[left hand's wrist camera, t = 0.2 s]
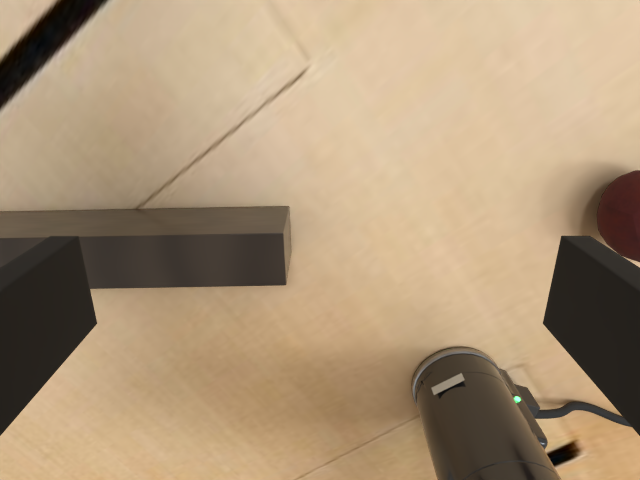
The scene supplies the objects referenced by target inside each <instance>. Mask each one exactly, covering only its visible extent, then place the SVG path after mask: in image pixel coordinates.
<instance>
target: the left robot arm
mask: <svg viewBox="0 0 640 480" xmlns="http://www.w3.org/2000/svg"><path fill="white" fill-rule="evenodd" d="M96 324H97V321H96V316H95V311H94V307H93V302H92V297H91V292H90V288H89V283H88V278H87V273H86V269H85V264H84V259H83V255H82V250H81V245H80V240H79V236H50V237H48V238H46V239H45V240H43V241H42V242H40V243H38V244H37V245H35V246H34V247H32V248H31V249H29V250H27V251H26V252H24V253H23V254H21V255H20V256H18V257H16V258H15V259H13V260H12V261H10V262H9V263H7V264H5V265H4V266H2V267H1V268H0V435H1V434H2V433H3V432H4V431H5V430H6V429H7V427H8V426H9V425H10V424H11V423H12V422H13V420H14V419H15V418H16V417H17V416H18V415H19V413H20V412H21V411H22V410H23V409H24V408H25V406H26V405H27V404H28V403H29V402H30V401H31V400H32V398H33V397H34V396H35V395H36V394H37V393H38V391H39V390H40V389H41V388H42V387H43V386H44V384H45V383H46V382H47V381H48V380H49V379H50V377H51V376H52V375H53V374H54V373H55V372H56V371H57V369H58V368H59V367H60V366H61V365H62V364H63V362H64V361H65V360H66V359H67V358H68V357H69V355H70V354H71V353H72V352H73V351H74V350H75V348H76V347H77V346H78V345H79V344H80V343H81V342H82V340H83V339H84V338H85V337H86V336H87V335H88V333H89V332H90V331H91V330H92V329H93V328H94V326H95V325H96ZM543 324H544V325H545V326H546V328H547V329H548V330H549V331H550V332H551V333H552V335H553V336H554V337H555V338H556V339H557V340H558V342H559V343H560V344H561V345H562V346H563V347H564V348H565V350H566V351H567V352H568V353H569V354H570V355H571V357H572V358H573V359H574V360H575V361H576V362H577V364H578V365H579V366H580V367H581V368H582V369H583V371H584V372H585V373H586V374H587V375H588V376H589V377H590V379H591V380H592V381H593V382H594V383H595V384H596V386H597V387H598V388H599V389H600V390H601V391H602V393H603V394H604V395H605V396H606V397H607V398H608V400H609V401H610V402H611V403H612V404H613V405H614V406H615V408H616V409H617V410H618V411H619V412H620V413H621V415H622V416H623V417H624V418H625V419H626V420H627V422H628V423H629V424H630V425H631V426H632V427H633V429H634V430H635V431H636V432H637V433H638V434H639V435H640V268H639V267H638V266H636V265H635V264H633V263H631V262H630V261H628V260H627V259H625V258H624V257H622V256H620V255H619V254H617V253H616V252H614V251H613V250H611V249H609V248H608V247H606V246H605V245H603V244H602V243H600V242H598V241H597V240H595V239H594V238H592V237H590V236H561V240H560V245H559V250H558V255H557V259H556V264H555V269H554V273H553V278H552V283H551V288H550V292H549V297H548V302H547V307H546V311H545V316H544V321H543Z"/></svg>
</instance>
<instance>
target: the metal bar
mask: <svg viewBox="0 0 640 480" xmlns="http://www.w3.org/2000/svg"><path fill="white" fill-rule="evenodd" d="M50 236H79V240H80V245H81V250H82V255H83V259H84V264H85V269H86V273H87V278H88V283H89V288H90V289H104V288H160V287H216V286H272V285H286V283H287V276H288V270H289V263H290V257H291V233H290V212H289V206H275V207H223V208H170V209H118V210H66V211H13V212H0V268H1V267H2V266H4V265H5V264H7V263H9V262H10V261H12V260H13V259H15V258H16V257H18V256H20V255H21V254H23V253H24V252H26V251H27V250H29V249H31V248H32V247H34V246H35V245H37V244H38V243H40V242H42V241H43V240H45V239H46V238H48V237H50Z"/></svg>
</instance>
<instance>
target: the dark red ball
mask: <svg viewBox="0 0 640 480" xmlns="http://www.w3.org/2000/svg"><path fill="white" fill-rule="evenodd" d="M597 222H598V230H599V232H600V234H601V235H602V237H603V239H604V240H605V242H606V243H607V244H608V245H609V246H610V247H611V248H612V249H614V250H615V251H616V252H617V253H618V254H620V255H621V256H623V257H626V258H629V259H632V260H635V261H638V262H640V171H633V172H630V173H628V174H625V175H622V176H620V177H618V178H617V179H616V180H615V181H613V182H612V183H611V184H610V185H609V186H608V187H607V189H606V190H605V192H604V193H603V195H602V197H601V201H600V205H599V208H598V212H597Z"/></svg>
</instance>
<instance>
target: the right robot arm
mask: <svg viewBox="0 0 640 480" xmlns="http://www.w3.org/2000/svg"><path fill="white" fill-rule="evenodd" d="M412 394H413V397H414V401H415V404H416V406H417V408H418V412H419V415H420V419H421V423H422V426H423V430H424V433H425V437H426V440H427V444H428V447H429V451H430V454H431V458H432V461H433V465H434V468H435V472H436V476H437V479H438V480H561V478H560V476H559V474H558V473H557V471H556V469H555V468H554V466H553V464H552V462H551V461H550V459H549V457H548V455H547V454H546V452H545V448H546V446H547V443H548V442H547V438H546V437H545V435H544V433H543V432H542V430H541V428H540V427H539V425H538V423H537V422H536V420H535V419H548V418H558V417H562V416H565V415H567V414H568V413H570V412H571V411H573V410H584V411H589V412H592V413H594V414H597V415H599V416H602V417H604V418H606V419H609V420H611V421H613V422H616V423H619V424H622V425H625V426H629V427H632V426H631V425H630V424H629V423H628V422H627V420H626V419H625V418H624V417H621V416H619V415H616V414H614V413H611V412H609V411H607V410H604V409H602V408H600V407H597V406H594V405H591V404H588V403H583V402H570V403H568V404H566V405H564V406H563V407H561V408H558V409H551V410H539V409H540V407H539V405H538V404H537V402H536V401H535V399H534V397H533V396H532V394H531V393H530V391H529V390H528V388H527V387H523V386H519V385H515V384H513V382H512V380H511V379H510V377H509V375H508V374H507V372H506V371H504V370H500V369H498V367H497V365H496V364H495V362H494V361H493V360H492V359H491V358H490V357H489V356H488V355H486V354H485V353H483V352H481V351H479V350H476V349H472V348H465V347H456V348H450V349H446V350H442V351H440V352H437V353H435V354H433V355H432V356H430V357H429V358H427V359H426V360H425V361H424V362H423V363H422V364H421V365H420V366H419V367H418V369H417V370H416V372H415V374H414V377H413V380H412Z"/></svg>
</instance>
